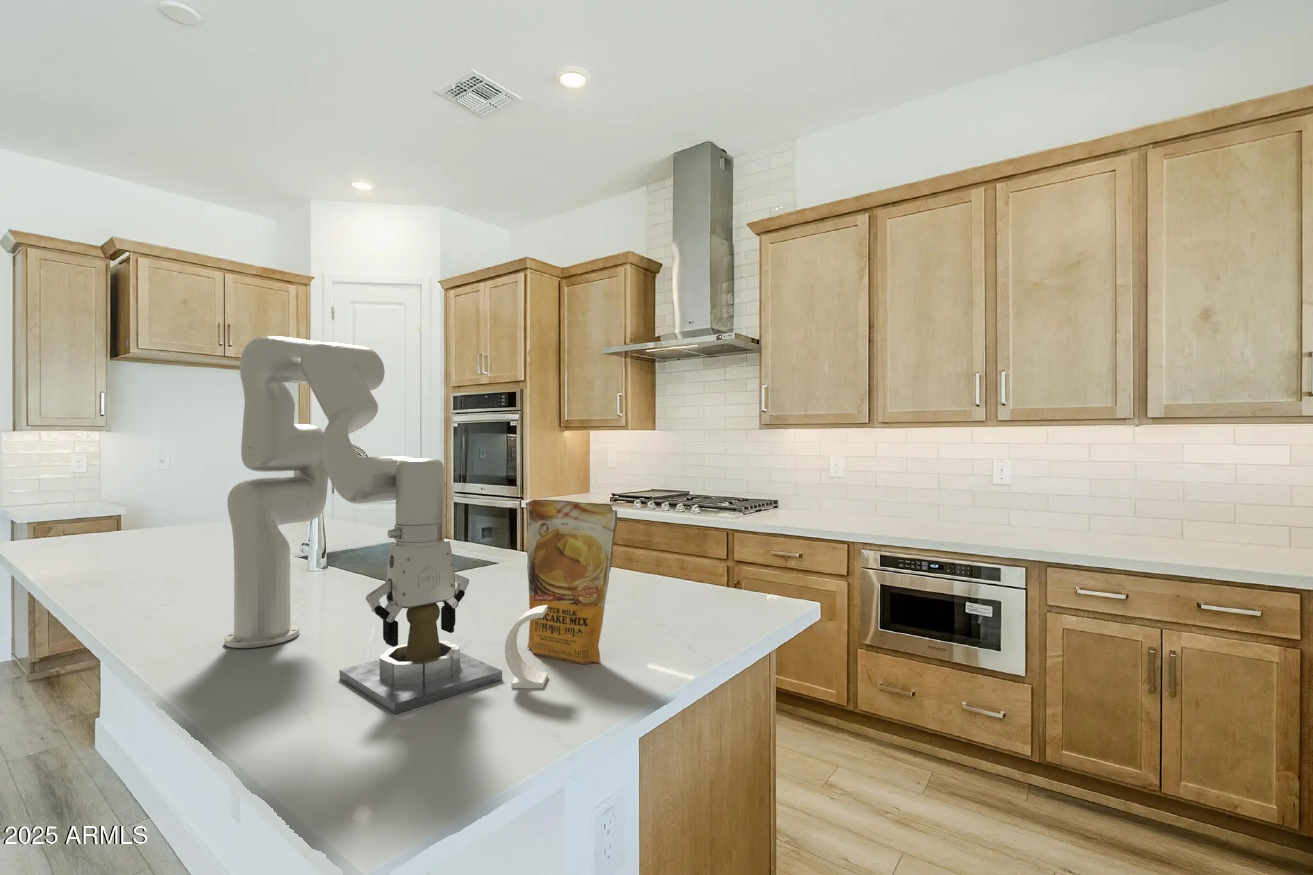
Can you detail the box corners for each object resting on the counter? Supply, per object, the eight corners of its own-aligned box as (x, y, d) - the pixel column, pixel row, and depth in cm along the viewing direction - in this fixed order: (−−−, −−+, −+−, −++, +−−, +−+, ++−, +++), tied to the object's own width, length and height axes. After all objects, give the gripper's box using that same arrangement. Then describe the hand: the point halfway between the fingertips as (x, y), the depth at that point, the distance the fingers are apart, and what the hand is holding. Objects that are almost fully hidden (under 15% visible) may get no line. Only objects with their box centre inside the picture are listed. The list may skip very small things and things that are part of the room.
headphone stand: (542, 688, 102) (542, 612, 102) (504, 688, 102) (504, 612, 102) (548, 677, 107) (547, 604, 107) (511, 677, 107) (511, 604, 107)
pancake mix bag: (537, 641, 126) (536, 497, 125) (620, 657, 116) (620, 502, 116) (513, 651, 120) (513, 500, 120) (599, 669, 110) (599, 505, 110)
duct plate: (339, 678, 106) (339, 651, 106) (440, 651, 119) (440, 627, 119) (394, 714, 92) (394, 683, 92) (502, 679, 106) (502, 652, 106)
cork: (420, 661, 110) (419, 596, 110) (450, 665, 108) (450, 599, 108) (395, 673, 104) (395, 605, 104) (426, 677, 102) (426, 608, 102)
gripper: (377, 542, 97) (377, 656, 97) (479, 530, 110) (479, 630, 110) (357, 537, 102) (357, 645, 102) (456, 526, 115) (456, 622, 115)
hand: (420, 637), depth 106 cm, fingers open, 9 cm apart
